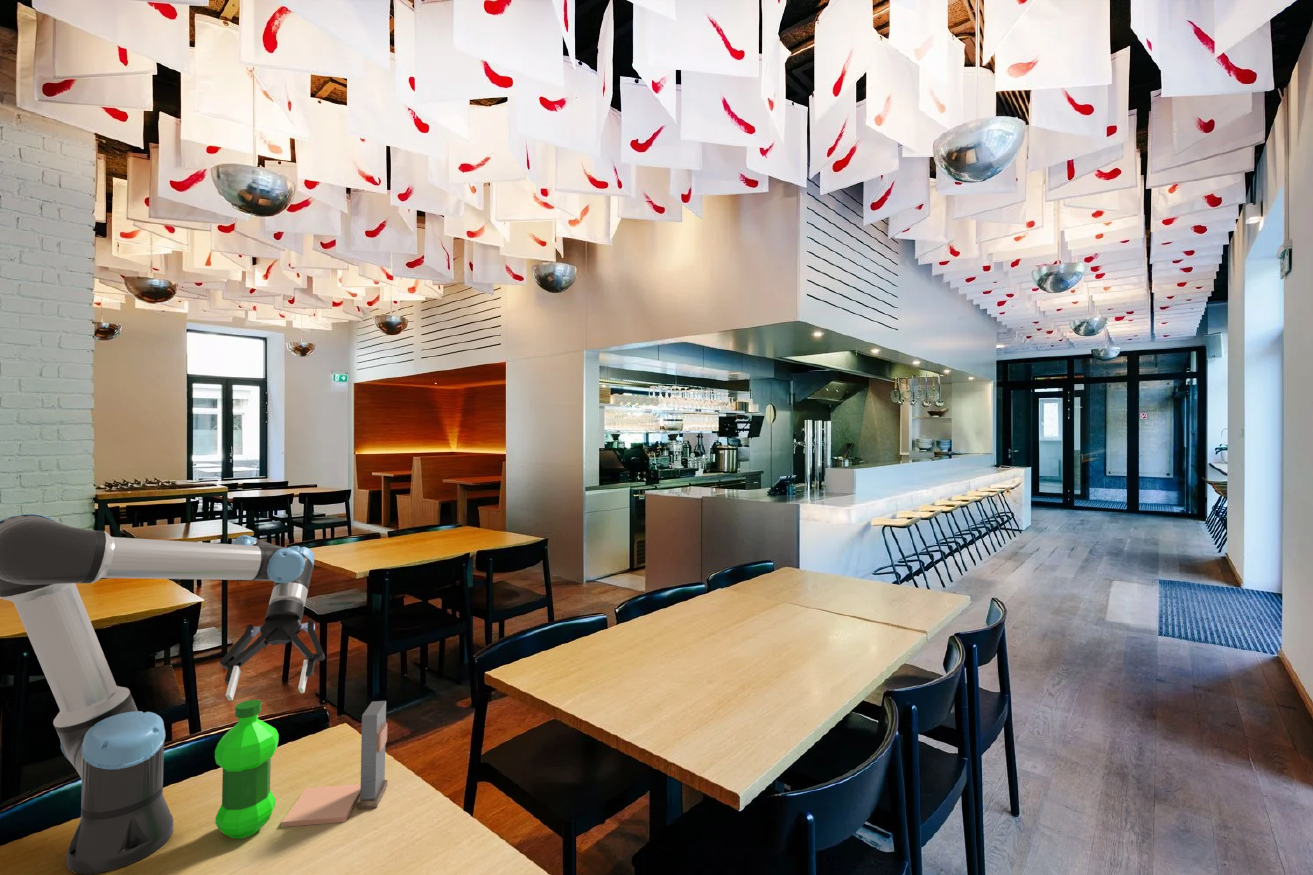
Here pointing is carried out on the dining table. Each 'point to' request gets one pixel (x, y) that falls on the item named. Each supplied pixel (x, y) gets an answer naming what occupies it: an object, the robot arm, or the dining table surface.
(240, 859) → the dining table surface
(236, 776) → the plastic bottle
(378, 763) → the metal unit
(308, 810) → the terracotta pad
